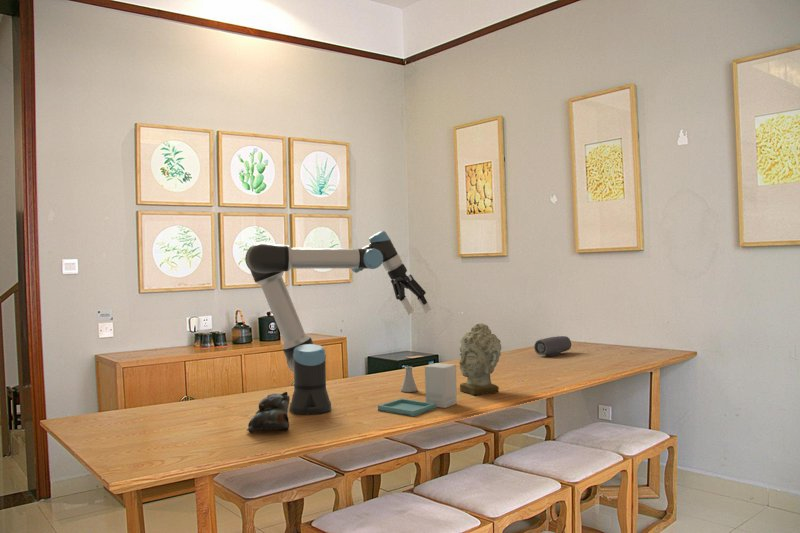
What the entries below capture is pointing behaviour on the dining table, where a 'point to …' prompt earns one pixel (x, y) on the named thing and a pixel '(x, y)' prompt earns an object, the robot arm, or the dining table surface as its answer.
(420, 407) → the tray
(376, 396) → the dining table surface
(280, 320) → the robot arm
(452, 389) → the supplement box
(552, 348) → the bluetooth speaker
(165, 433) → the dining table surface
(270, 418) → the lucky cat figurine
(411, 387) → the flask
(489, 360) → the buddha head
